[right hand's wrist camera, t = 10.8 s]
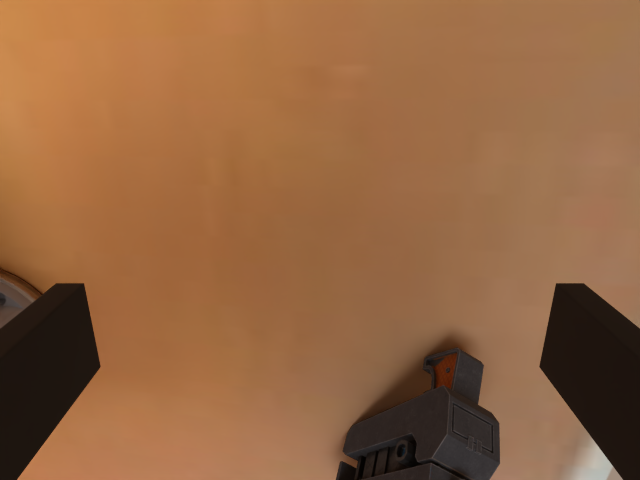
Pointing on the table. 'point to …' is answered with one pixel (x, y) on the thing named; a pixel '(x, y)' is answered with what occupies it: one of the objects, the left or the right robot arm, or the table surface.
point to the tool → (430, 430)
